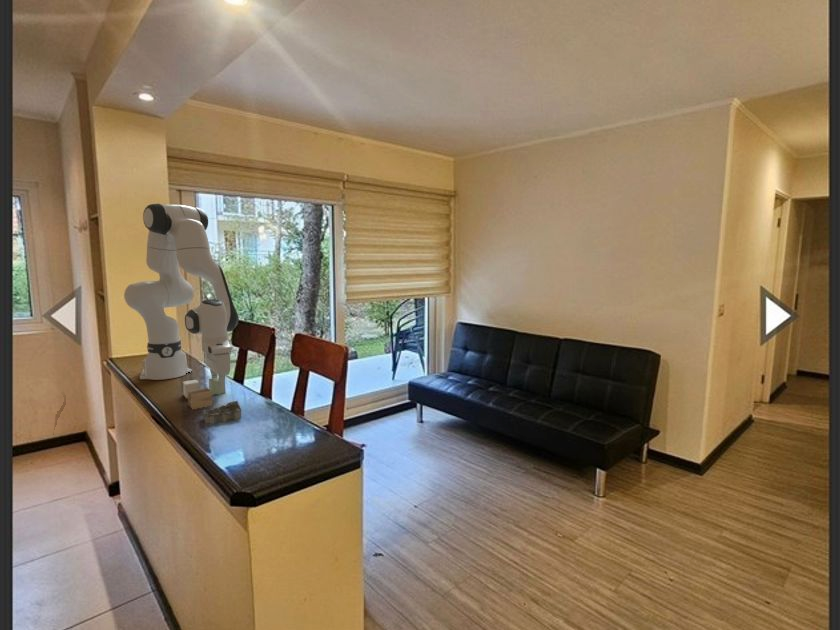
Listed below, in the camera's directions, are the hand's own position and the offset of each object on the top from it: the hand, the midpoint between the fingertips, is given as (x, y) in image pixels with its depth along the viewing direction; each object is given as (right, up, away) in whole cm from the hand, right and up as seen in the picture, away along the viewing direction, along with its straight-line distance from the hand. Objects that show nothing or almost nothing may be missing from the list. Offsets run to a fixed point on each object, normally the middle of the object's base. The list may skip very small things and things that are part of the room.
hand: (218, 382), depth 161 cm
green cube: (-1, -4, +1) cm, 4 cm away
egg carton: (+12, -8, -24) cm, 28 cm away
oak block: (0, -6, -13) cm, 14 cm away
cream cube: (-8, -4, -3) cm, 9 cm away
